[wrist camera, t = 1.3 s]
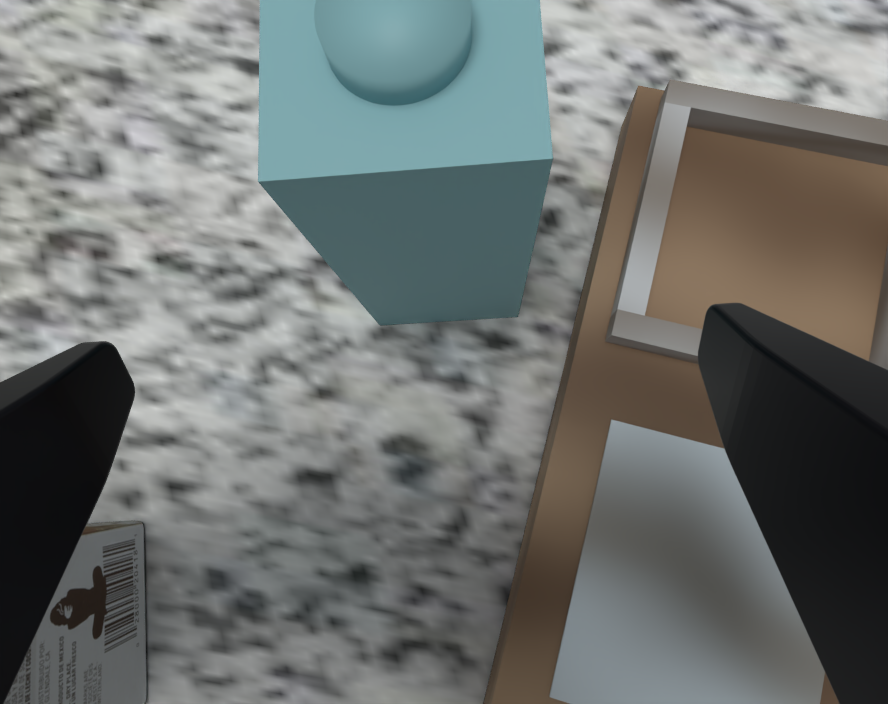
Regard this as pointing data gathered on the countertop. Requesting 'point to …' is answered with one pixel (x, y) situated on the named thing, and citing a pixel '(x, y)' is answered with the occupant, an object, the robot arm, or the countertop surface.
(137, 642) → the coffee box
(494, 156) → the teal pillar
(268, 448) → the countertop surface
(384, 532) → the countertop surface
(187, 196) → the countertop surface
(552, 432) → the walnut base plate
